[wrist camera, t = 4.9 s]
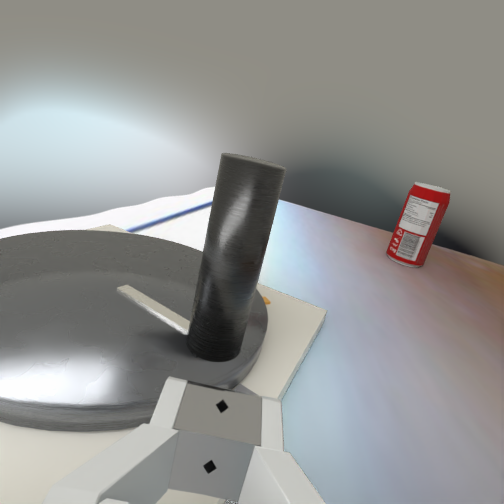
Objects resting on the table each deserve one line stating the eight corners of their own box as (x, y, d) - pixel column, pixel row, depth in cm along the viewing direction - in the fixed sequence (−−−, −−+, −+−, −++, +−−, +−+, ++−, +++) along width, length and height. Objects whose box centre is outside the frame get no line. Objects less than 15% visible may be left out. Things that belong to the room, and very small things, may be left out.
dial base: (108, 237, 39) (110, 222, 38) (322, 325, 31) (327, 308, 31) (-263, 335, 18) (-272, 304, 17) (125, 682, 10) (132, 648, 10)
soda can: (414, 259, 59) (444, 186, 55) (427, 271, 54) (461, 192, 50) (381, 250, 59) (408, 177, 55) (390, 263, 54) (421, 183, 50)
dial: (-159, 284, 20) (-201, 53, 16) (132, 233, 37) (145, 114, 33) (57, 543, 11) (79, 173, 7) (310, 321, 28) (357, 172, 24)
